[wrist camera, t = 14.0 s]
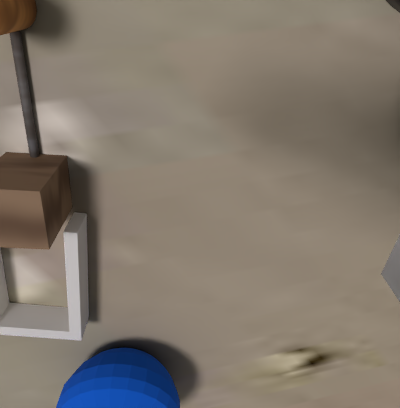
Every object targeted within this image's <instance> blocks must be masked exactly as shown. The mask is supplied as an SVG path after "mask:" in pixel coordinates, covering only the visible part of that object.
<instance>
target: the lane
mask: <svg viewBox="0 0 400 408" xmlns="http://www.w3.org/2000/svg"><path fill="white" fill-rule="evenodd" d="M64 249H65V265H66V282H67V299H68V307H58V306H46V305H33V304H21V303H10V302H9V296H8V290H7V284H6V278H5V272H4V266H3V260H2V254H1V248H0V334H1V335H14V336H28V337H41V338H55V339H69V340H82V337H83V334H84V331H85V328H86V324H87V321H88V318H89V296H88V252H87V213H78V212H74V213H73V215H72V217H71V219H70V221H69V222H68V224H67V226H66V228H65V230H64Z"/></svg>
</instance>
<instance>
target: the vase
mask: <svg viewBox="0 0 400 408" xmlns="http://www.w3.org/2000/svg"><path fill="white" fill-rule="evenodd" d="M56 408H180V401H179V397H178V393H177V390H176V387H175V385H174V382H173V380H172V377H171V375H170V374H169V373H168V371H167V370H166V368H165V367H164V366H163V365H162V364H161V363H160V362H159V361H158V360H157V359H156V358H154V357H153V356H152V355H150V354H148V353H146V352H143V351H141V350H137V349H134V348H114V349H109V350H106V351H103V352H100V353H99V354H97V355H95V356H94V357H92V358H90V359H89V360H87V361H85V362H84V363H83V364H82V365H81V366H80V367H79V368H78V369H77V370H76V372H75V373H74V374H73V375H72V376H71V377H70V379H69V380H68V381H67V382H66V383H65V384H64V387H63V390H62V392H61V395H60V398H59V401H58V404H57V406H56Z"/></svg>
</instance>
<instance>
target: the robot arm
mask: <svg viewBox="0 0 400 408" xmlns="http://www.w3.org/2000/svg"><path fill="white" fill-rule="evenodd" d="M386 1H387V2H388V3H389V4H390V5H391V6H392V7H393V8H395V9H396V10H397V11H399V12H400V0H386ZM381 274H382V276H383V277H384V279H385V280H386V282H387V283H388V285H389V286H390V288H391V289H392V291H393V292H394V294H395V295H396V297H397V298H398V300H399V302H400V235H399V237H398V239H397V242H396V244H395V246H394V248H393V250H392V252H391V254H390V256H389V258H388V260H387V263H386V265H385V267H384V269H383V271H382V273H381Z"/></svg>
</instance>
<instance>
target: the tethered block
mask: <svg viewBox="0 0 400 408" xmlns="http://www.w3.org/2000/svg"><path fill="white" fill-rule="evenodd" d="M36 14H37V7H36V3H35V0H0V35H3V34H7V33H10V38H11V44H12V50H13V56H14V62H15V68H16V75H17V81H18V87H19V93H20V99H21V105H22V111H23V117H24V123H25V129H26V135H27V141H28V147H29V153H30V154H28V153H11V152H6V153H5V154H4V155H2V156H1V157H0V247H7V248H29V249H50V247H51V245H52V243H53V242H54V240H55V238H56V236H57V234H58V232H59V231H60V229H61V227H62V225H63V223H64V222H65V220H66V218H67V216H68V214H69V212H70V211H71V209H72V207H73V206H72V197H71V188H70V179H69V170H68V162H67V156H62V155H45V154H39V150H38V143H37V137H36V130H35V123H34V117H33V110H32V104H31V97H30V91H29V84H28V78H27V71H26V65H25V58H24V51H23V45H22V38H21V32H20V30H24V29H26V28H28V27H30V26H31V25H32V24H33V22H34V21H35V18H36Z"/></svg>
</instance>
